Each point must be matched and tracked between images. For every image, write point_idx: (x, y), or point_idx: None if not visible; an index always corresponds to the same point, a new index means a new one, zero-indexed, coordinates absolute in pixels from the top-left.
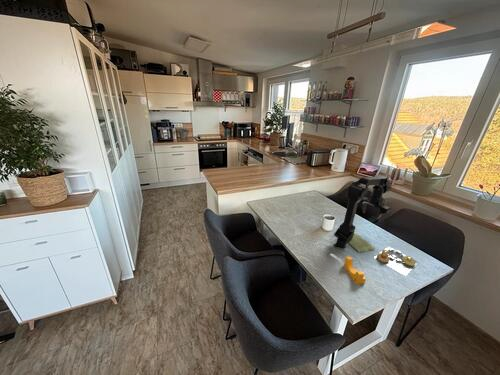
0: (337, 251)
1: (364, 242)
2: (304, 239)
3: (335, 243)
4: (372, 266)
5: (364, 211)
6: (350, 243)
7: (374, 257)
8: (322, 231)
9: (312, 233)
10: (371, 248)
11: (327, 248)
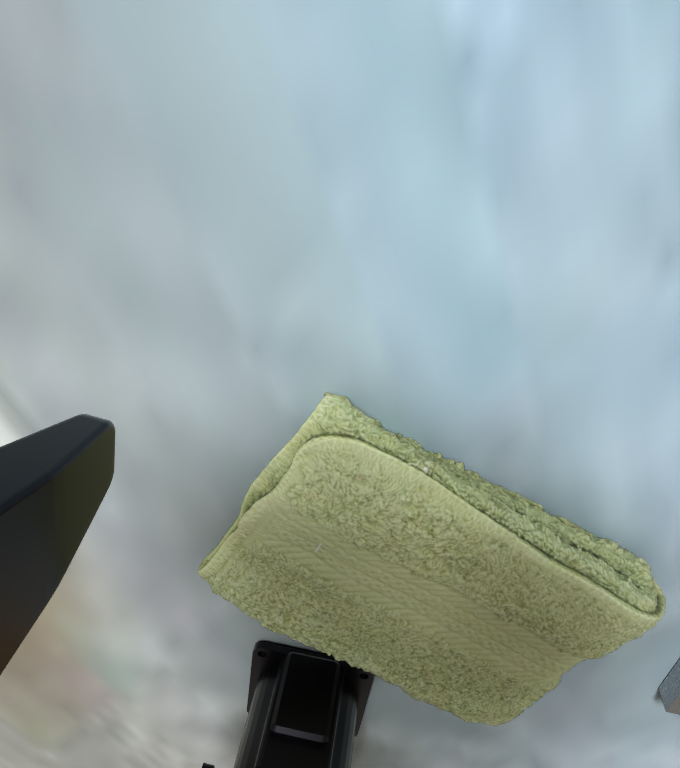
0: None
1: (514, 588)
2: (45, 745)
3: (251, 691)
4: (660, 761)
5: (70, 517)
6: (374, 672)
7: (674, 706)
8: None
9: None
10: (626, 641)
11: None
